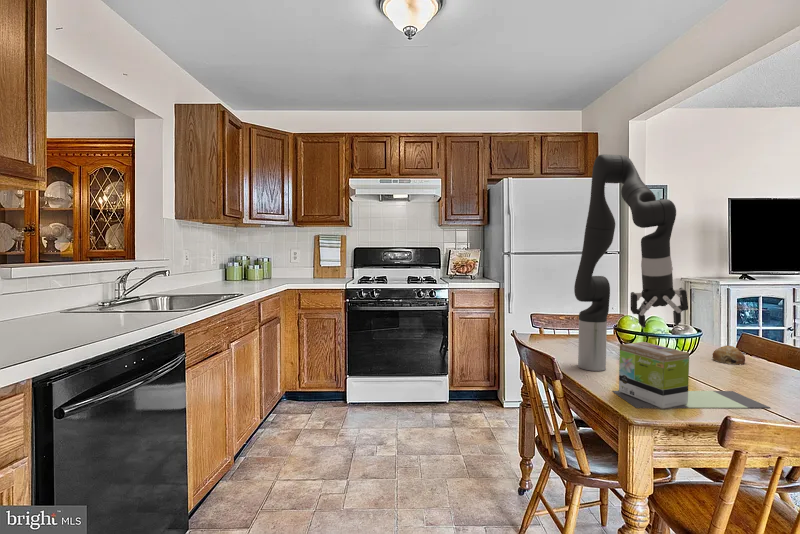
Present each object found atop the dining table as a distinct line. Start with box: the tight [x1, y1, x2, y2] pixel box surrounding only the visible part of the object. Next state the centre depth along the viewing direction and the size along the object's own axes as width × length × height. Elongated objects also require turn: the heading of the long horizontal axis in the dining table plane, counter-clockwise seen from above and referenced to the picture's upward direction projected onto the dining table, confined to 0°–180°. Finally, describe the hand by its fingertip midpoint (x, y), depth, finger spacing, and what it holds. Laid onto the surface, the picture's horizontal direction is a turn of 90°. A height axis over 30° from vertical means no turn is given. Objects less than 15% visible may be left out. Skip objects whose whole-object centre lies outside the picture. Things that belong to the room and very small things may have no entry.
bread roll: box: [711, 345, 746, 365], centre depth 172 cm, size 10×10×8 cm
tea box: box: [618, 341, 690, 409], centre depth 129 cm, size 15×10×15 cm
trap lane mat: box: [612, 390, 771, 410], centre depth 129 cm, size 14×36×1 cm, turn 90°
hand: (659, 325), depth 130 cm, fingers open, 8 cm apart
